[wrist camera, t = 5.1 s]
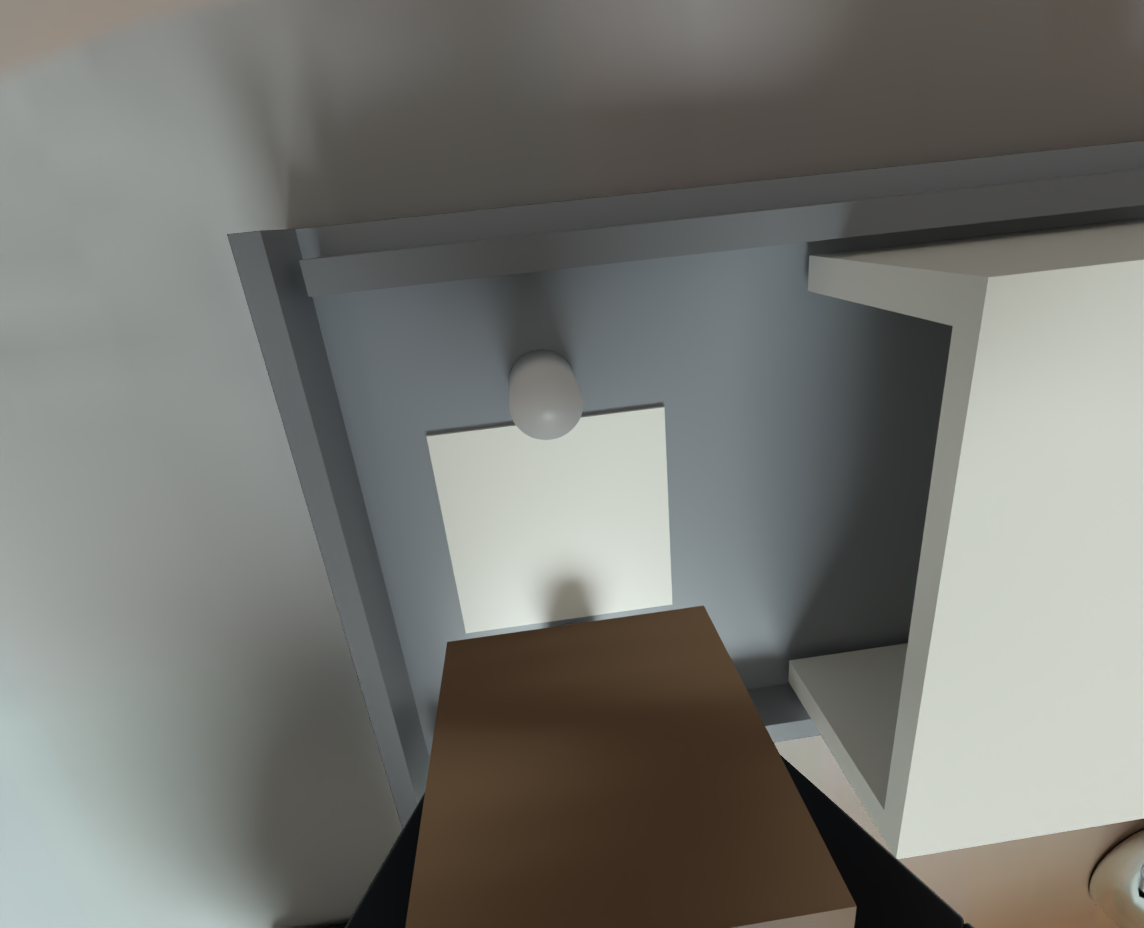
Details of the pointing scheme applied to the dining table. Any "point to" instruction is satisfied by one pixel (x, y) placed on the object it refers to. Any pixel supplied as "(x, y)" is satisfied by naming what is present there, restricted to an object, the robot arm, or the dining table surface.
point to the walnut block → (612, 789)
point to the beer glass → (1121, 883)
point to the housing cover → (1009, 549)
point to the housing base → (628, 414)
